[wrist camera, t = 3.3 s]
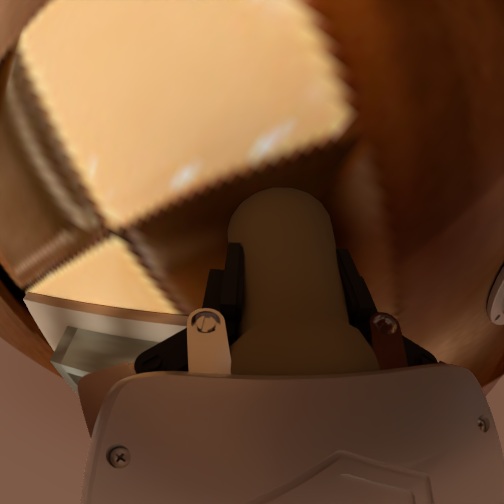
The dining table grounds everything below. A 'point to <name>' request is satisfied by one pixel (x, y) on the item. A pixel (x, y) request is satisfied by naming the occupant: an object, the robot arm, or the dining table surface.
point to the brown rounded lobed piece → (292, 291)
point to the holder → (97, 333)
